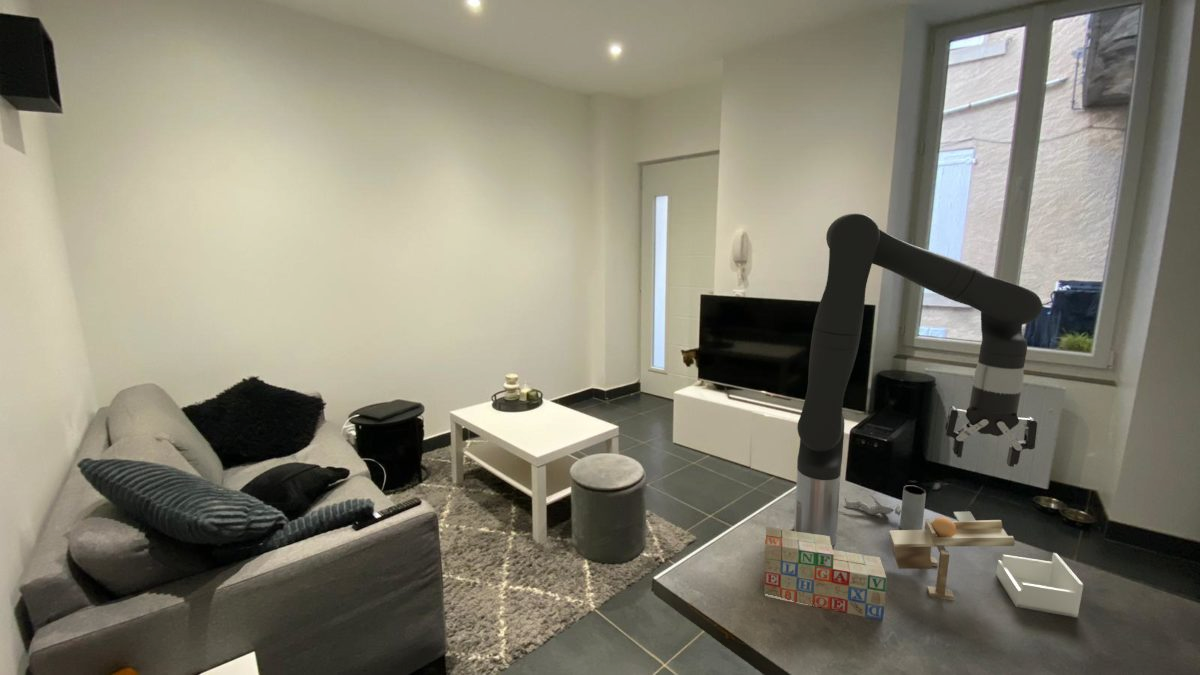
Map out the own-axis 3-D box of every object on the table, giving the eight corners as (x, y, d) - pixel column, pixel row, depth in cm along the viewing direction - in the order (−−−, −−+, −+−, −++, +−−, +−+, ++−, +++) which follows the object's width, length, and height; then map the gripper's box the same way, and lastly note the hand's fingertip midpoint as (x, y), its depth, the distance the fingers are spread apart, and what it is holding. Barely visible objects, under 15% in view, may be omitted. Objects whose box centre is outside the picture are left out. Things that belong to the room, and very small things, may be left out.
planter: (918, 524, 118) (922, 486, 116) (924, 535, 114) (928, 496, 112) (897, 521, 120) (901, 484, 118) (902, 532, 116) (906, 493, 114)
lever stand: (929, 596, 96) (934, 553, 94) (913, 557, 107) (917, 518, 105) (953, 600, 94) (958, 557, 92) (934, 560, 106) (939, 521, 104)
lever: (900, 573, 99) (894, 537, 98) (887, 536, 111) (881, 504, 110) (1020, 574, 91) (1015, 536, 90) (993, 534, 103) (988, 500, 102)
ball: (936, 542, 97) (934, 524, 96) (930, 530, 101) (928, 513, 100) (960, 542, 96) (957, 523, 95) (953, 530, 99) (951, 512, 99)
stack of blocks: (877, 598, 96) (881, 543, 93) (883, 621, 90) (888, 564, 88) (764, 577, 103) (765, 525, 101) (763, 597, 97) (764, 543, 95)
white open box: (1015, 606, 92) (1020, 574, 91) (996, 574, 101) (1000, 545, 99) (1077, 617, 89) (1083, 584, 88) (1051, 584, 97) (1056, 553, 96)
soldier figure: (848, 504, 130) (898, 499, 125) (852, 522, 128) (904, 519, 122) (842, 495, 125) (894, 489, 120) (846, 514, 122) (900, 509, 117)
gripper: (955, 386, 96) (944, 460, 100) (1049, 397, 89) (1033, 476, 93) (950, 376, 103) (940, 446, 106) (1037, 385, 96) (1023, 460, 99)
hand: (983, 460), depth 100 cm, fingers open, 8 cm apart
